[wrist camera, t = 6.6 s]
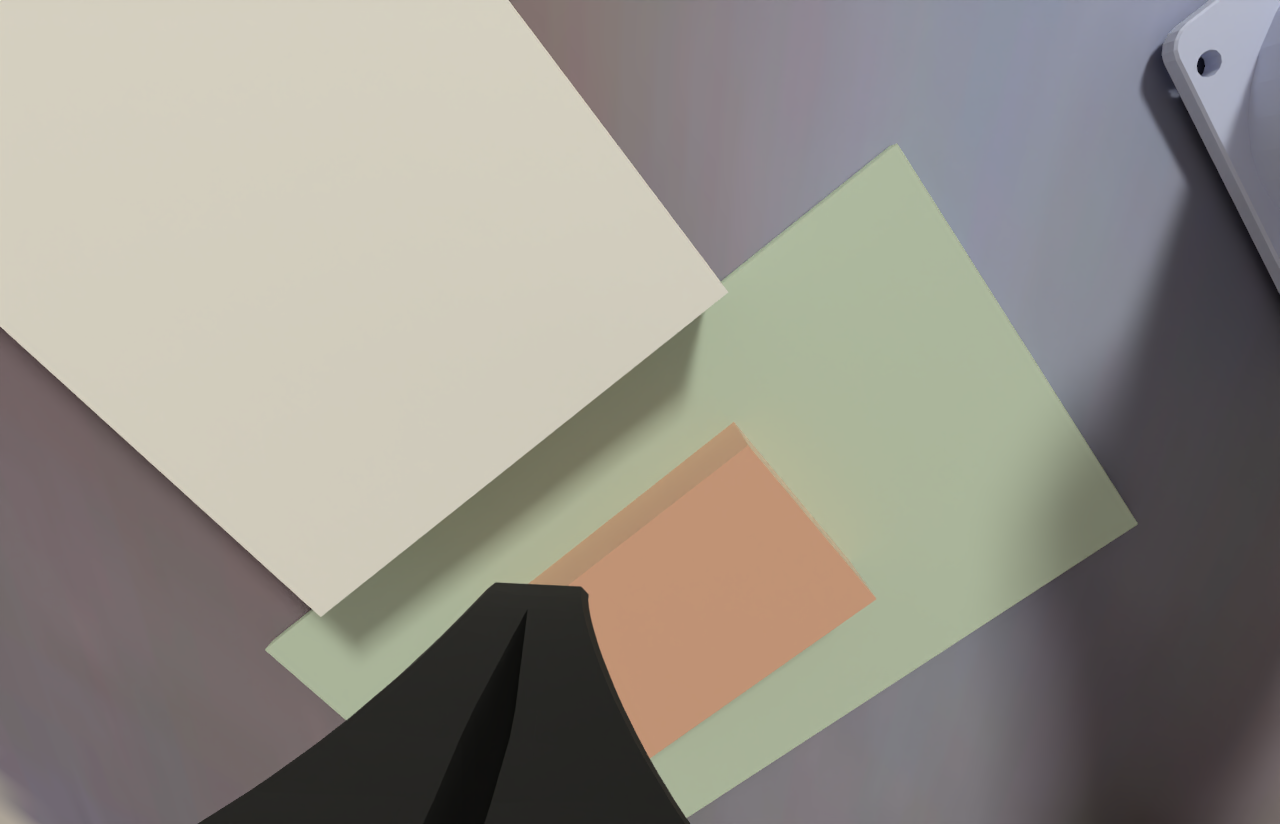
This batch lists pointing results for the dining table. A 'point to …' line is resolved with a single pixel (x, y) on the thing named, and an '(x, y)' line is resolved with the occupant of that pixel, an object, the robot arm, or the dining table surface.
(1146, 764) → the dining table surface
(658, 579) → the terracotta tile
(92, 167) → the platform
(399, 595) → the sage mat
